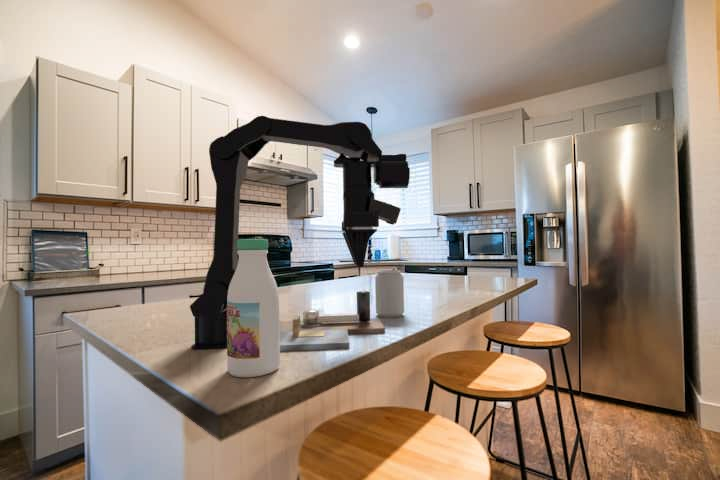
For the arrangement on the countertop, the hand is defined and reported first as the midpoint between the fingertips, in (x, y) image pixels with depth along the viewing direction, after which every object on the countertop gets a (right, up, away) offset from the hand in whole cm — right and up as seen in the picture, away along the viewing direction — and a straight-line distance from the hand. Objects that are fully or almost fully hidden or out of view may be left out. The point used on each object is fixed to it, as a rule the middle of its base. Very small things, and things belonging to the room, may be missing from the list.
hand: (358, 265), depth 69 cm
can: (+8, -15, +22) cm, 28 cm away
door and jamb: (-6, -15, +3) cm, 17 cm away
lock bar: (-5, -13, +9) cm, 17 cm away
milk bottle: (-16, -15, -16) cm, 27 cm away
